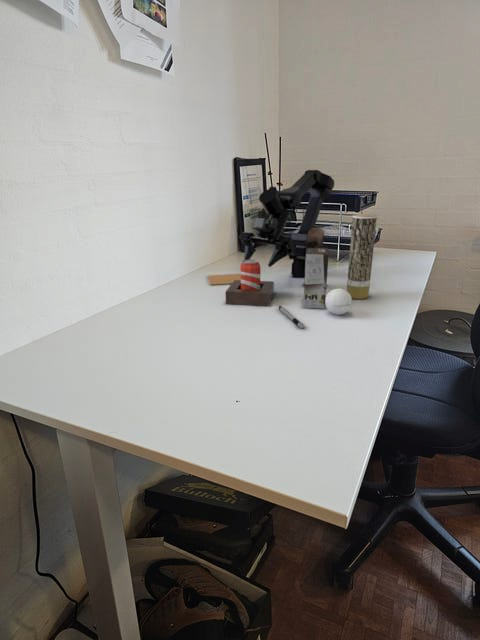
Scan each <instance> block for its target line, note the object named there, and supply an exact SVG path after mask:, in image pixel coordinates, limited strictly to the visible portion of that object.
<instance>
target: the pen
mask: <svg viewBox="0 0 480 640" xmlns="http://www.w3.org/2000/svg"><path fill="white" fill-rule="evenodd" d="M278 309H279V311H280V312H281V313H283V314H284V315H285V316H286V317H287V318H288V319H289V320H290V321H292V322H293V323H294V324H295V325H296V326H297V327H298V328H299V329H304V324H303V323H302V322H301V321H299V320H298V319H297V318H296V317H295V316H294V315H293V314H292V313H291V312H289V310H287V309H286V308H285V307H283V306H281V305H279V306H278Z"/></svg>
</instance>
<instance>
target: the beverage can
mask: <svg viewBox="0 0 480 640" xmlns="http://www.w3.org/2000/svg"><path fill="white" fill-rule="evenodd" d="M240 275H241V289H242V290H260V281H261V264H260V262H259V260H258V259H256V258H255V259H253V258H250V259H247V260H244V259H243V260H242V261H241V264H240Z"/></svg>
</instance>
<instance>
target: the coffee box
mask: <svg viewBox="0 0 480 640" xmlns="http://www.w3.org/2000/svg"><path fill="white" fill-rule="evenodd" d="M329 255H330V254H329V248H328V247H323V248H307V251H306V261H305V277H304V282H305V284H304V283H303V285H304V286H303V306H302V307H303V308H306V309H323V310H324V309H325V308H326V305H325V299H326V296H327V284H328V270H329Z"/></svg>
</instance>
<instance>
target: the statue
mask: <svg viewBox="0 0 480 640" xmlns="http://www.w3.org/2000/svg"><path fill="white" fill-rule="evenodd" d="M324 237H325V231H324V229H323V228H321V227H316V228H315V227H314V229H311V230H310V231H309V232H308V236H307V241H306V247H305V248H306V251H307V248H324ZM304 284H305V281H304V282H303V285H302V286H303V287H304Z"/></svg>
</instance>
